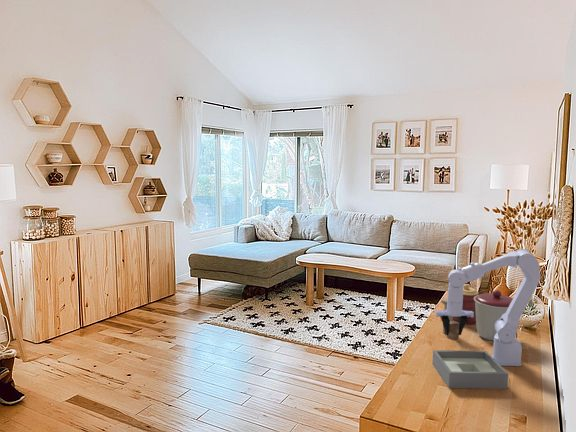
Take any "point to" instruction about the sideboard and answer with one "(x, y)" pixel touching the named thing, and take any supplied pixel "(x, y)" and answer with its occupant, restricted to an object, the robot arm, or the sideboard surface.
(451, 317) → the handle
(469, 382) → the socket box
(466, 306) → the canister
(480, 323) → the canister
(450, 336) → the peg
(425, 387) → the sideboard surface
